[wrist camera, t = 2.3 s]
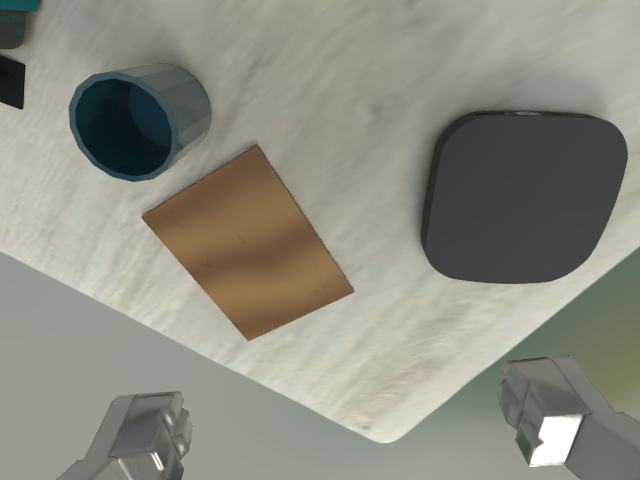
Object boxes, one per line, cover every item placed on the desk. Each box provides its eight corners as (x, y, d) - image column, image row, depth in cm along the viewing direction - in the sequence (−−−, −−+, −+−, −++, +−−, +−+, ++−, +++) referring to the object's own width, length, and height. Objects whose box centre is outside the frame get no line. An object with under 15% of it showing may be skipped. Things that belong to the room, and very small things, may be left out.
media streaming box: (414, 265, 38) (420, 282, 36) (438, 107, 32) (447, 114, 29) (567, 270, 38) (584, 288, 36) (624, 112, 32) (651, 120, 29)
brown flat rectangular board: (142, 215, 37) (140, 217, 37) (257, 144, 34) (256, 145, 33) (249, 339, 43) (248, 341, 43) (354, 290, 40) (354, 292, 40)
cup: (109, 93, 32) (45, 110, 25) (174, 45, 30) (125, 48, 23) (165, 164, 35) (122, 198, 28) (228, 124, 33) (199, 149, 26)
